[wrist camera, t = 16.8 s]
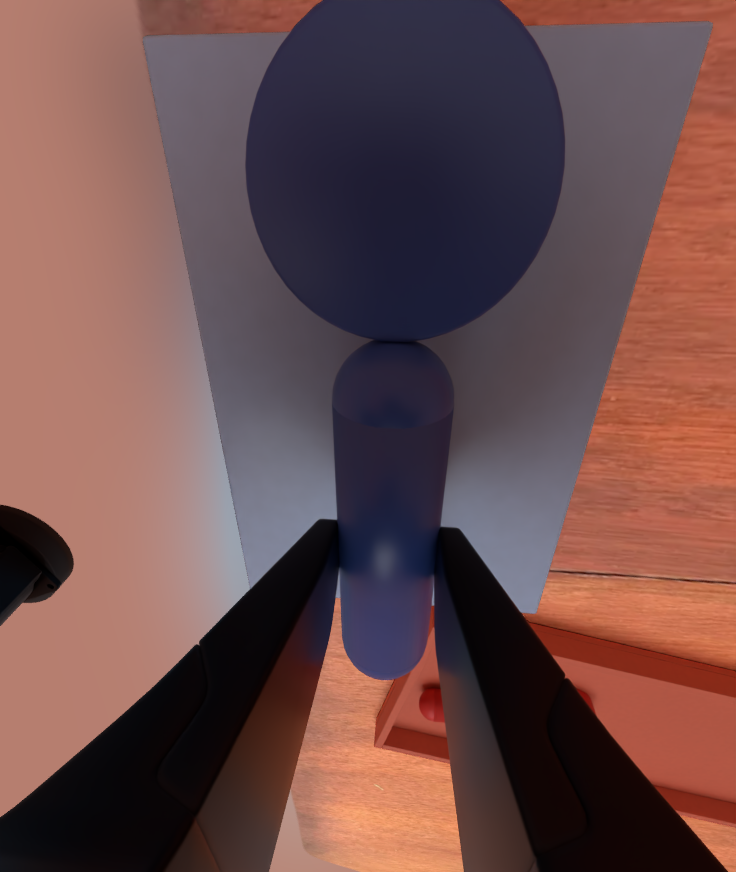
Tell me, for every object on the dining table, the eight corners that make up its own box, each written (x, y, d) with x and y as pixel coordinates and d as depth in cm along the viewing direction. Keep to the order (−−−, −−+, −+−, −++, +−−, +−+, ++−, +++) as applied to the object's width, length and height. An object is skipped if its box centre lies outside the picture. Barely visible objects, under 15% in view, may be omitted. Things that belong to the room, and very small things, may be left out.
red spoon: (417, 704, 33) (417, 733, 31) (420, 672, 31) (420, 702, 29) (583, 720, 32) (592, 751, 30) (598, 689, 30) (609, 720, 28)
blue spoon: (462, 627, 11) (471, 707, 10) (311, 615, 12) (294, 690, 10) (571, 2, 5) (646, -85, 4) (254, 10, 6) (183, -65, 4)
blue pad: (531, 597, 12) (536, 615, 12) (256, 575, 13) (249, 591, 12) (693, 32, 6) (718, 18, 6) (160, 45, 7) (139, 34, 6)
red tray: (375, 719, 35) (373, 747, 33) (432, 599, 27) (433, 627, 26) (830, 822, 36) (850, 853, 35) (1006, 735, 29) (1044, 770, 27)
